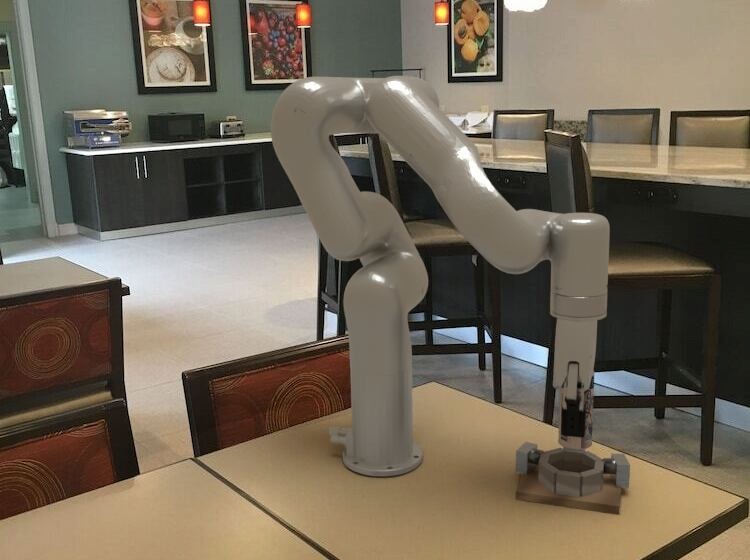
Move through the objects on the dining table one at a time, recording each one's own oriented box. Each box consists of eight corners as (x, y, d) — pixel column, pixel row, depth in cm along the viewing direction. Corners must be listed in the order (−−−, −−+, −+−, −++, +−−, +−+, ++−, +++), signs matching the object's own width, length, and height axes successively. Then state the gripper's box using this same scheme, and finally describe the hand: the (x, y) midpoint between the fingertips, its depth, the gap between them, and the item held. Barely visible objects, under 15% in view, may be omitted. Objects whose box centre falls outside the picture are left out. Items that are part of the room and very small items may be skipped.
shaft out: (605, 487, 112) (607, 464, 112) (600, 475, 116) (601, 453, 115) (628, 487, 112) (630, 464, 111) (622, 475, 116) (624, 453, 115)
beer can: (593, 453, 110) (596, 372, 108) (558, 451, 111) (559, 370, 109) (591, 439, 115) (593, 360, 112) (557, 437, 116) (559, 359, 113)
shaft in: (545, 468, 118) (546, 446, 118) (535, 477, 116) (536, 455, 115) (525, 462, 120) (525, 441, 119) (515, 472, 117) (516, 450, 116)
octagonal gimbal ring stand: (515, 499, 112) (516, 472, 111) (527, 465, 122) (528, 440, 121) (619, 514, 107) (620, 486, 106) (622, 477, 118) (623, 451, 117)
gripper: (557, 288, 117) (554, 403, 121) (542, 318, 102) (540, 449, 106) (610, 290, 115) (605, 408, 119) (603, 322, 99) (598, 456, 103)
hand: (574, 426), depth 112 cm, fingers closed on beer can, 4 cm apart
